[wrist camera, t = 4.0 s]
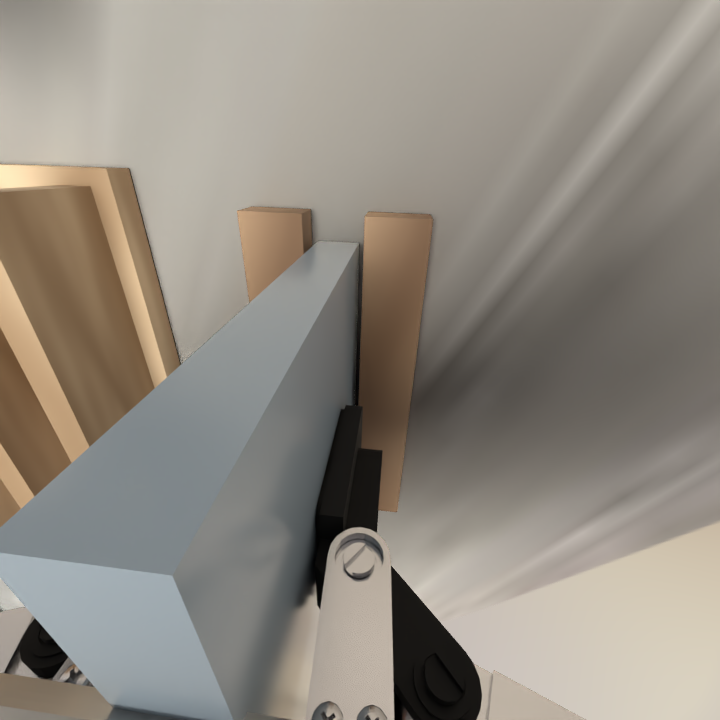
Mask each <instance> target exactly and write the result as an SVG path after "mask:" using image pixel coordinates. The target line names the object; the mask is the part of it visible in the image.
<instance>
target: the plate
mask: <svg viewBox="0 0 720 720" xmlns="http://www.w3.org/2000/svg"><path fill="white" fill-rule="evenodd" d="M358 269H359V243H355V242H335V241H318V242H317V243H315V244H314V245H313V246H312V247H311V248H310V249H309V250H308V251H307V252H305V253H304V254H303V255H302V256H301V257H300V258H299V259H298V260H297V261H295V262H294V263H293V264H292V265H291V266H290V267H289V268H288V269H287V270H285V271H284V272H283V273H282V274H281V275H280V276H279V277H278V278H277V279H275V280H274V281H273V282H272V283H271V284H270V285H269V286H268V287H267V288H265V289H264V290H263V291H262V292H261V293H260V294H259V295H258V296H257V297H256V298H254V299H253V300H252V301H251V302H250V303H249V304H248V305H247V306H246V307H244V308H243V309H242V310H241V311H240V312H239V313H238V314H237V315H236V316H234V317H233V318H232V319H231V320H230V321H229V322H228V323H227V324H226V325H224V326H223V327H222V328H221V329H220V330H219V331H218V332H217V333H216V334H214V335H213V336H212V337H211V338H210V339H209V340H208V341H207V342H206V343H204V344H203V345H202V346H201V347H200V348H199V349H198V350H197V351H196V352H194V353H193V354H192V355H191V356H190V357H189V358H188V359H187V360H186V361H184V362H183V363H182V364H181V365H180V366H179V367H178V368H177V369H176V370H175V371H173V372H172V373H171V374H170V375H169V376H168V377H167V378H166V379H165V380H163V381H162V382H161V383H160V384H159V385H158V386H157V387H156V388H155V389H153V390H152V391H151V392H150V393H149V394H148V395H147V396H146V397H145V398H143V399H142V400H141V401H140V402H139V403H138V404H137V405H136V406H135V407H133V408H132V409H131V410H130V411H129V412H128V413H127V414H126V415H125V416H123V417H122V418H121V419H120V420H119V421H118V422H117V423H116V424H115V425H113V426H112V427H111V428H110V429H109V430H108V431H107V432H106V433H105V434H103V435H102V436H101V437H100V438H99V439H98V440H97V441H96V442H95V443H94V444H92V445H91V446H90V447H89V448H88V449H87V450H86V451H85V452H84V453H82V454H81V455H80V456H79V457H78V458H77V459H76V460H75V461H74V462H72V463H71V464H70V465H69V466H68V467H67V468H66V469H65V470H64V471H62V472H61V473H60V474H59V475H58V476H57V477H56V478H55V479H54V480H52V481H51V482H50V483H49V484H48V485H47V486H46V487H45V488H44V489H42V490H41V491H40V492H39V493H38V494H37V495H36V496H35V497H34V498H32V499H31V500H30V501H29V502H28V503H27V504H26V505H25V506H24V507H22V508H21V509H20V510H19V511H18V512H17V513H16V514H15V515H14V516H13V517H11V518H10V519H9V520H8V521H7V522H6V523H5V524H4V525H3V526H1V527H0V578H1V579H2V580H3V581H4V583H5V584H6V585H7V586H8V587H9V588H10V590H11V591H12V592H13V593H14V594H15V595H16V596H17V598H18V599H19V600H20V601H21V602H22V603H23V605H24V606H25V607H26V608H27V609H28V610H29V612H30V613H31V614H32V615H33V616H34V617H35V618H36V620H37V621H38V622H39V623H40V624H41V625H42V627H43V628H44V629H45V630H46V631H47V632H48V634H49V635H50V636H51V637H52V638H53V639H54V640H55V642H56V643H57V644H58V645H59V646H60V647H61V649H62V650H63V651H64V652H65V653H66V654H67V655H68V657H69V658H70V659H71V660H72V661H73V662H74V664H75V665H76V666H77V667H78V668H79V669H80V671H81V672H82V673H83V674H84V675H85V676H86V677H87V679H88V680H89V681H90V682H91V683H92V684H93V686H94V687H95V688H96V689H97V690H98V691H99V693H100V694H101V695H102V696H103V697H104V698H105V699H106V701H107V702H108V703H109V704H110V705H111V706H112V708H115V709H121V710H127V711H133V712H139V713H145V714H151V715H157V716H163V717H169V718H174V719H180V720H243V719H244V717H245V715H246V714H247V712H249V713H255V714H261V715H267V716H273V717H279V718H285V719H291V720H305V716H306V708H307V701H308V694H309V687H310V680H311V672H312V665H313V658H314V651H315V643H316V636H317V629H318V622H319V615H320V609H319V607H318V606H317V594H316V577H315V560H316V556H317V541H316V523H315V517H316V508H317V502H318V498H319V494H320V490H321V486H322V482H323V478H324V475H325V471H326V467H327V463H328V459H329V455H330V451H331V447H332V443H333V439H334V435H335V431H336V427H337V423H338V419H339V415H340V411H341V409H345V406H346V405H353V406H355V388H356V348H357V309H358Z"/></svg>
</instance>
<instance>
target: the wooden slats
mask: <svg viewBox="0 0 720 720" xmlns="http://www.w3.org/2000/svg"><path fill="white" fill-rule="evenodd" d="M237 214H238V222H239V229H240V237H241V244H242V251H243V259H244V266H245V274H246V281H247V288H248V296H249V303H250V302H251V301H252V300H253V299H254V298H256V297H257V296H258V295H259V294H260V293H261V292H262V291H263V290H264V289H265V288H267V287H268V286H269V285H270V284H271V283H272V282H273V281H274V280H275V279H277V278H278V277H279V276H280V275H281V274H282V273H283V272H284V271H285V270H287V269H288V268H289V267H290V266H291V265H292V264H293V263H294V262H295V261H297V260H298V259H299V258H300V257H301V256H302V255H303V254H304V253H305V252H307V251H308V250H309V249H310V248H311V247H312V228H311V209H294V208H271V207H249V208H245V209H242V210H238V211H237ZM432 226H433V218H432V216H431V215H430V214H409V213H386V212H368V213H367V214H366V215H365V223H364V254H363V285H362V315H361V346H360V377H359V406H363V418H362V443H361V448H364V449H374V450H383V453H382V467H381V480H380V494H379V508H378V510H381V511H390V512H397V509H398V500H399V492H400V484H401V476H402V468H403V460H404V452H405V444H406V436H407V428H408V420H409V412H410V403H411V395H412V387H413V379H414V371H415V363H416V355H417V347H418V339H419V331H420V323H421V315H422V306H423V298H424V290H425V282H426V274H427V266H428V258H429V250H430V242H431V234H432Z"/></svg>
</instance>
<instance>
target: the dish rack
mask: <svg viewBox="0 0 720 720" xmlns="http://www.w3.org/2000/svg"><path fill="white" fill-rule="evenodd" d="M179 366H180V362H179V358H178V354H177V350H176V347H175V343H174V339H173V335H172V331H171V327H170V324H169V320H168V316H167V312H166V308H165V305H164V301H163V297H162V293H161V289H160V286H159V282H158V278H157V274H156V270H155V267H154V263H153V259H152V255H151V251H150V248H149V244H148V240H147V236H146V232H145V228H144V225H143V221H142V217H141V213H140V209H139V206H138V202H137V198H136V194H135V190H134V187H133V183H132V179H131V175H130V171H129V168H104V167H76V166H48V165H20V164H0V527H1V526H3V525H4V524H5V523H6V522H7V521H8V520H9V519H10V518H11V517H13V516H14V515H15V514H16V513H17V512H18V511H19V510H20V509H21V508H22V507H24V506H25V505H26V504H27V503H28V502H29V501H30V500H31V499H32V498H34V497H35V496H36V495H37V494H38V493H39V492H40V491H41V490H42V489H44V488H45V487H46V486H47V485H48V484H49V483H50V482H51V481H52V480H54V479H55V478H56V477H57V476H58V475H59V474H60V473H61V472H62V471H64V470H65V469H66V468H67V467H68V466H69V465H70V464H71V463H72V462H74V461H75V460H76V459H77V458H78V457H79V456H80V455H81V454H82V453H84V452H85V451H86V450H87V449H88V448H89V447H90V446H91V445H92V444H94V443H95V442H96V441H97V440H98V439H99V438H100V437H101V436H102V435H103V434H105V433H106V432H107V431H108V430H109V429H110V428H111V427H112V426H113V425H115V424H116V423H117V422H118V421H119V420H120V419H121V418H122V417H123V416H125V415H126V414H127V413H128V412H129V411H130V410H131V409H132V408H133V407H135V406H136V405H137V404H138V403H139V402H140V401H141V400H142V399H143V398H145V397H146V396H147V395H148V394H149V393H150V392H151V391H152V390H153V389H155V388H156V387H157V386H158V385H159V384H160V383H161V382H162V381H163V380H165V379H166V378H167V377H168V376H169V375H170V374H171V373H172V372H173V371H175V370H176V369H177V368H178V367H179Z"/></svg>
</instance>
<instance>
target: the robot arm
mask: <svg viewBox="0 0 720 720" xmlns="http://www.w3.org/2000/svg"><path fill="white" fill-rule="evenodd" d="M362 418H363V406H353V405H346V406H345V409H341V411H340V415H339V419H338V423H337V427H336V431H335V435H334V439H333V443H332V447H331V451H330V455H329V459H328V463H327V467H326V471H325V475H324V478H323V482H322V486H321V490H320V494H319V498H318V502H317V508H316V517H315V523H316V541H317V556H316V560H315V577H316V594H317V606H318V607H319V609H320V615H319V622H318V629H317V636H316V643H315V651H314V658H313V665H312V672H311V680H310V687H309V694H308V701H307V708H306V716H305V720H586V719H584V718H582V717H580V716H578V715H576V714H575V713H572V712H571V711H569V710H567V709H565V708H563V707H562V706H560V705H558V704H556V703H554V702H552V701H550V700H549V699H547V698H545V697H543V696H541V695H539V694H537V693H536V692H533V691H532V690H530V689H528V688H526V687H524V686H523V685H521V684H519V683H517V682H515V681H513V680H511V679H509V678H508V677H506V676H504V675H502V674H500V673H499V672H497V671H495V670H494V671H493V673H490V672H488V671H486V670H485V669H483V668H481V667H479V666H477V665H475V664H474V663H473V662H472V661H471V659H470V658H469V656H468V655H467V653H466V652H465V651H464V650H463V649H462V647H461V646H460V645H459V644H458V643H457V642H456V640H455V639H454V638H453V637H452V636H451V634H450V633H449V632H448V631H447V630H446V629H445V628H444V626H443V625H442V624H441V623H440V622H439V621H438V619H437V618H436V617H435V616H434V615H433V614H432V612H431V611H430V610H429V609H428V608H427V607H426V605H425V604H424V603H423V602H422V601H421V600H420V598H419V597H418V596H417V595H416V594H415V593H414V592H413V590H412V589H411V588H410V587H409V586H408V585H407V583H406V582H405V581H404V580H403V579H402V578H401V576H400V575H399V574H398V573H397V572H396V571H395V569H394V568H393V567H392V566H391V557H390V551H389V548H388V546H387V544H386V542H385V540H384V539H383V538H382V537H381V536H380V535H379V534H378V533H377V522H378V508H379V494H380V480H381V467H382V453H383V450H374V449H364V448H361V443H362ZM0 720H180V719H174V718H169V717H163V716H157V715H151V714H145V713H139V712H133V711H127V710H121V709H115V708H112V706H111V705H110V704H109V703H108V702H107V701H106V699H105V698H104V697H103V696H102V695H101V694H100V693H99V691H98V690H97V689H96V688H95V687H94V686H93V684H92V683H91V682H90V681H89V680H88V679H87V677H86V676H85V675H84V674H83V673H82V672H81V671H80V669H79V668H78V667H77V666H76V665H75V664H74V662H73V661H72V660H71V659H70V658H69V657H68V655H67V654H66V653H65V652H64V651H63V650H62V649H61V647H60V646H59V645H58V644H57V643H56V642H55V640H54V639H53V638H52V637H51V636H50V635H49V634H48V632H47V631H46V630H45V629H44V628H43V627H42V625H41V624H40V623H39V622H38V621H37V620H36V618H35V617H34V616H33V615H32V614H31V613H30V612H29V610H28V609H27V608H26V607H21V608H16V609H12V610H7V611H2V612H0ZM243 720H291V719H285V718H279V717H273V716H267V715H261V714H255V713H249V712H247V714H246V715H245V717H244V719H243Z"/></svg>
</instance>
